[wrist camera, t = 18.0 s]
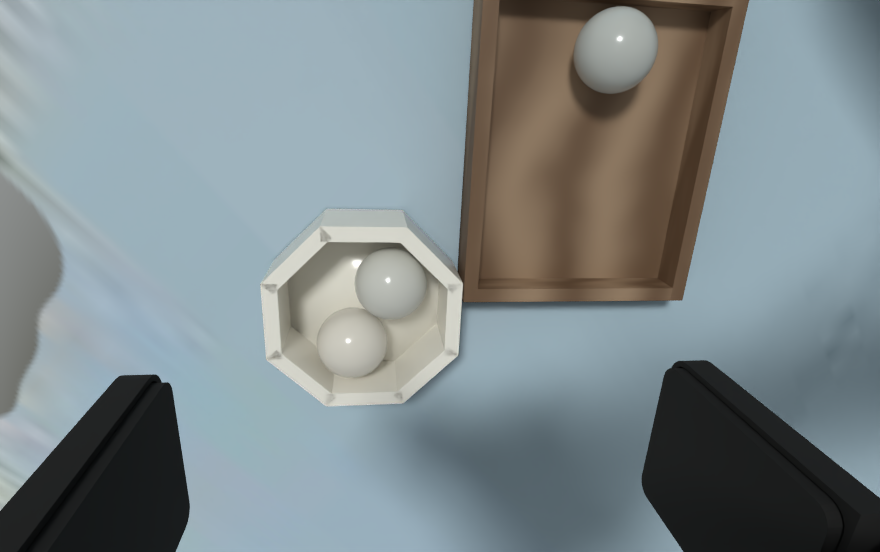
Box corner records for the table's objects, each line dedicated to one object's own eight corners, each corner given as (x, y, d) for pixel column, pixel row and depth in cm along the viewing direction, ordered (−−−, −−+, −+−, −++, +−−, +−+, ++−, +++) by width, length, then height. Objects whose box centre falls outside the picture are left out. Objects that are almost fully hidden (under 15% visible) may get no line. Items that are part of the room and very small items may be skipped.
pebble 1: (387, 321, 34) (355, 391, 33) (406, 326, 39) (378, 388, 38) (323, 292, 35) (292, 359, 35) (349, 301, 40) (322, 360, 39)
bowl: (454, 210, 37) (466, 228, 33) (445, 366, 42) (455, 401, 37) (270, 207, 36) (255, 225, 31) (281, 371, 40) (270, 408, 35)
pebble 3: (639, 14, 34) (683, 2, 29) (626, 95, 35) (665, 96, 31) (567, 9, 33) (599, -4, 28) (557, 91, 35) (586, 92, 30)
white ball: (392, 235, 38) (443, 250, 35) (390, 297, 40) (440, 317, 37) (338, 247, 34) (391, 265, 31) (339, 315, 36) (389, 338, 33)
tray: (720, -2, 35) (751, -11, 32) (661, 286, 42) (682, 300, 39) (475, -22, 32) (485, -33, 30) (456, 287, 40) (463, 302, 37)
